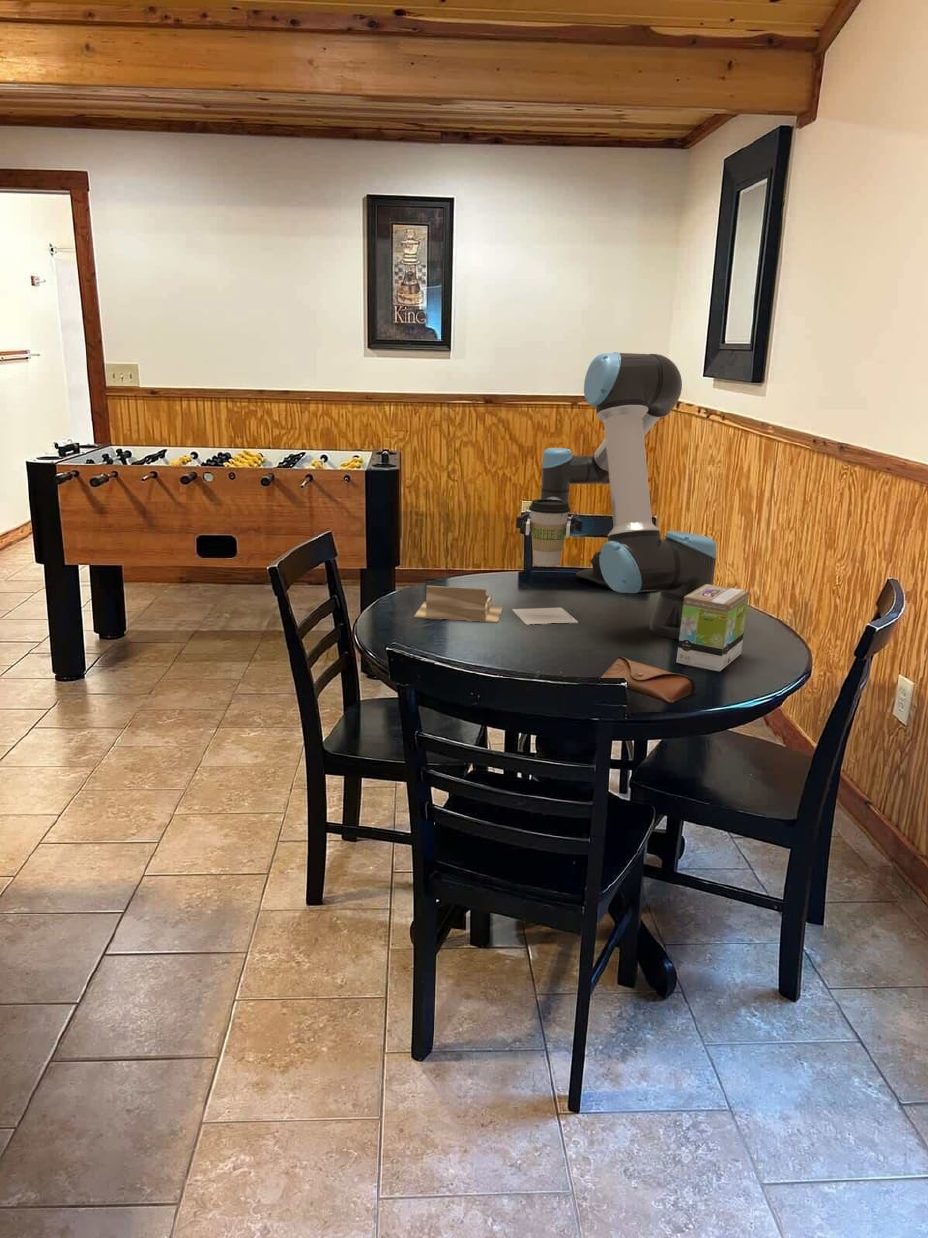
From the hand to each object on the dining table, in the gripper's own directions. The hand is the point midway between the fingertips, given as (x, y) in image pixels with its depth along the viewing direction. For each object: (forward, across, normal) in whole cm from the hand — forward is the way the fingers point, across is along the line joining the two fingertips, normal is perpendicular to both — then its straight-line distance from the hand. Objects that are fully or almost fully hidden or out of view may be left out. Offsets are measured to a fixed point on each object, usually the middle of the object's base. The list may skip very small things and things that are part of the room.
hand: (547, 530), depth 216 cm
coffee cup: (-5, 0, -9) cm, 10 cm away
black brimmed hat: (-43, -19, -23) cm, 52 cm away
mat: (-4, 0, -22) cm, 23 cm away
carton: (-4, +21, -22) cm, 31 cm away
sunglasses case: (+41, -22, -22) cm, 52 cm away
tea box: (+21, -37, -22) cm, 48 cm away
